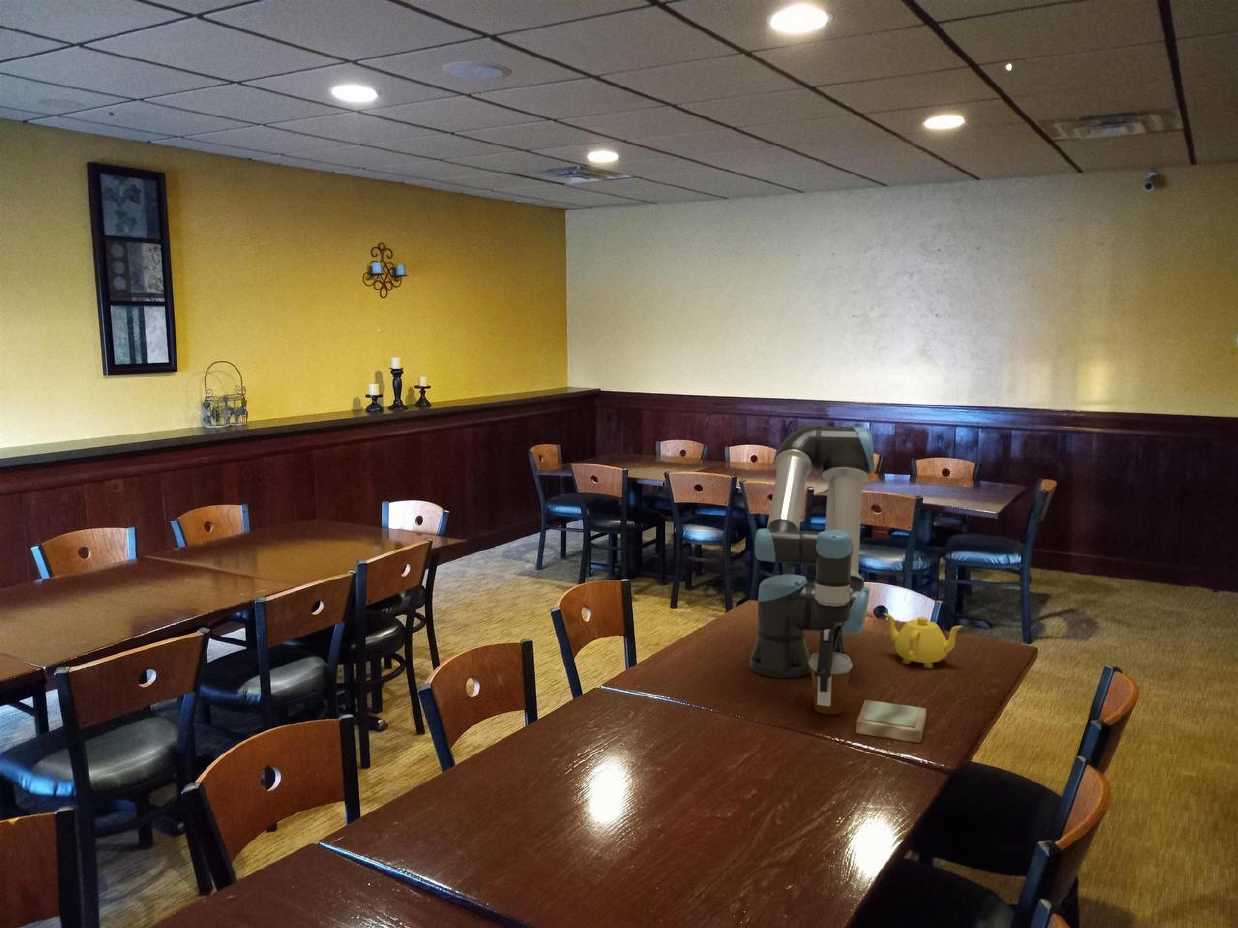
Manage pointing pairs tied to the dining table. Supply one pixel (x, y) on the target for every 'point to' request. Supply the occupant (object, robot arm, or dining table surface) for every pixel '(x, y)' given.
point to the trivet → (891, 721)
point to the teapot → (921, 641)
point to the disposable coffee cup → (832, 682)
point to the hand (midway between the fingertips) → (829, 694)
